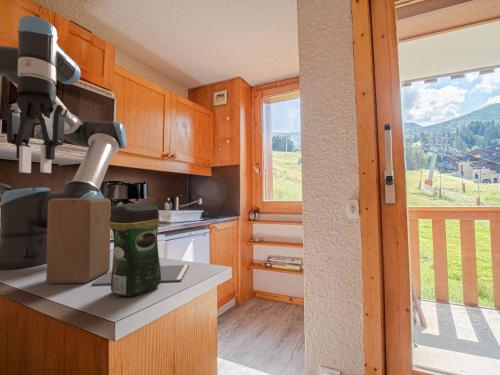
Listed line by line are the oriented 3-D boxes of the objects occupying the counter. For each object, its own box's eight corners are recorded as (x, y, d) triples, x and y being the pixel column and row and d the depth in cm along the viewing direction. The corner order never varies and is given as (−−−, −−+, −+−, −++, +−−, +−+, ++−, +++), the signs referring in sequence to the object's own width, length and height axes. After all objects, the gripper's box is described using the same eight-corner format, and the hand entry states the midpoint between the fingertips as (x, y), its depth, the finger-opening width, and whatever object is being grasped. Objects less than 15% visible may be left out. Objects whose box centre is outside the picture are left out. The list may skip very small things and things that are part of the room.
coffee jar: (145, 277, 60) (144, 201, 59) (166, 284, 55) (166, 202, 55) (103, 292, 51) (102, 203, 51) (125, 302, 47) (124, 205, 47)
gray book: (116, 269, 69) (116, 267, 69) (189, 266, 71) (189, 264, 71) (91, 285, 56) (91, 283, 56) (181, 281, 58) (181, 279, 58)
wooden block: (86, 284, 57) (87, 198, 58) (43, 284, 57) (45, 198, 58) (111, 271, 67) (112, 198, 68) (75, 271, 67) (76, 198, 68)
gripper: (-14, 72, 58) (-17, 171, 57) (64, 75, 60) (62, 170, 59) (13, 86, 66) (10, 174, 65) (81, 89, 67) (80, 173, 67)
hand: (35, 172), depth 62 cm, fingers open, 4 cm apart
